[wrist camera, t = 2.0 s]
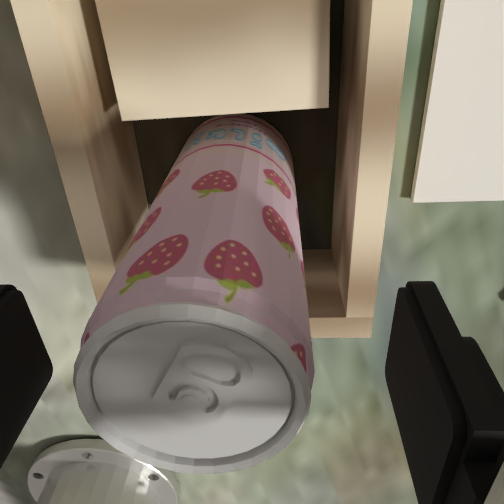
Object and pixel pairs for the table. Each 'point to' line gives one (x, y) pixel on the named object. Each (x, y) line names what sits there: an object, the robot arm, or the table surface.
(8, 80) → the table surface
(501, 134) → the pad
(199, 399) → the beverage can
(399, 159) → the table surface
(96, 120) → the frame
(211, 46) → the offcut upper
